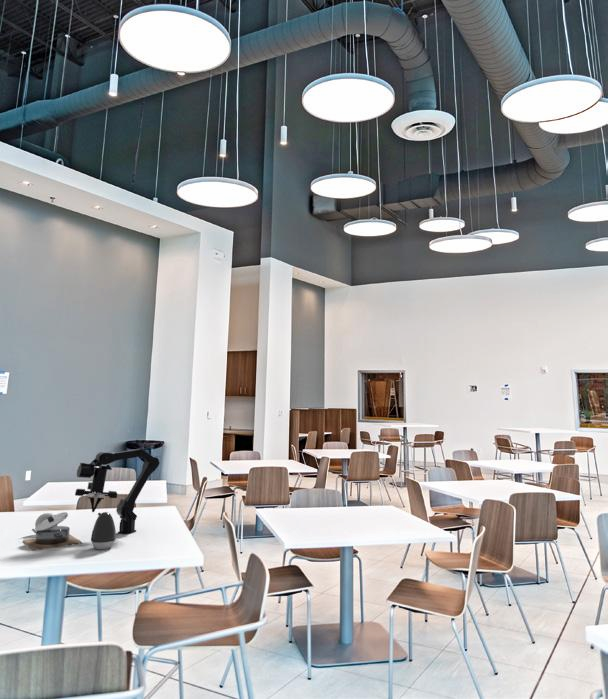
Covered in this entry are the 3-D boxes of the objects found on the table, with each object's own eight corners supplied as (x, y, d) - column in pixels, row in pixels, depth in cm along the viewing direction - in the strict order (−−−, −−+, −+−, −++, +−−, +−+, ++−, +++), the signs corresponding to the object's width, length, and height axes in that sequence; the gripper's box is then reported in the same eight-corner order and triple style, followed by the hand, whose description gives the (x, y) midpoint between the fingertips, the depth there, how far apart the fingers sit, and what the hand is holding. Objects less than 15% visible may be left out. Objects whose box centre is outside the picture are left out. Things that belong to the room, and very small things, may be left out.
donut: (33, 535, 242) (35, 514, 243) (34, 534, 245) (36, 512, 246) (56, 534, 245) (58, 512, 246) (57, 532, 248) (59, 511, 250)
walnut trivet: (69, 535, 243) (69, 534, 243) (81, 543, 227) (82, 542, 228) (22, 541, 230) (22, 540, 230) (32, 550, 215) (33, 548, 215)
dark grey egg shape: (107, 544, 227) (109, 509, 229) (119, 548, 220) (122, 512, 222) (85, 548, 219) (87, 512, 221) (97, 552, 213) (100, 515, 215)
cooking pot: (61, 534, 242) (62, 523, 242) (75, 543, 225) (76, 531, 226) (30, 538, 233) (31, 527, 234) (41, 548, 216) (42, 535, 217)
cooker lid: (63, 512, 239) (61, 506, 239) (71, 516, 229) (69, 510, 228) (30, 529, 230) (27, 524, 229) (37, 535, 219) (34, 529, 219)
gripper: (118, 479, 255) (112, 511, 252) (78, 475, 248) (72, 508, 245) (119, 480, 245) (113, 514, 242) (78, 477, 238) (71, 511, 235)
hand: (92, 512), depth 241 cm, fingers closed
